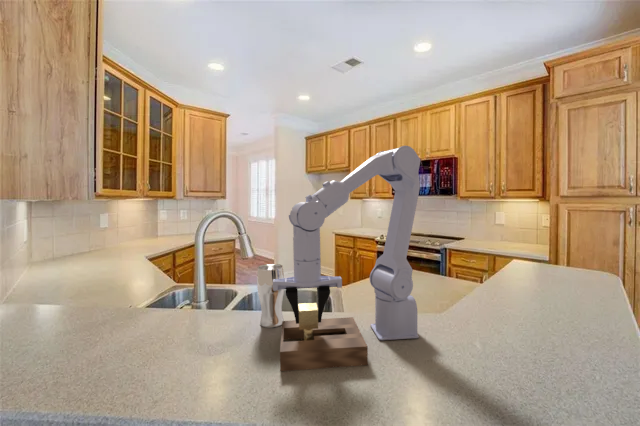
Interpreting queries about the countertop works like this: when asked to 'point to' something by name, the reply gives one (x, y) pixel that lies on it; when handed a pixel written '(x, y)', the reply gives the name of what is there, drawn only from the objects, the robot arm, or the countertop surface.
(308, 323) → the brass peg
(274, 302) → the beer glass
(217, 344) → the countertop surface
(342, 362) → the keyhole board
